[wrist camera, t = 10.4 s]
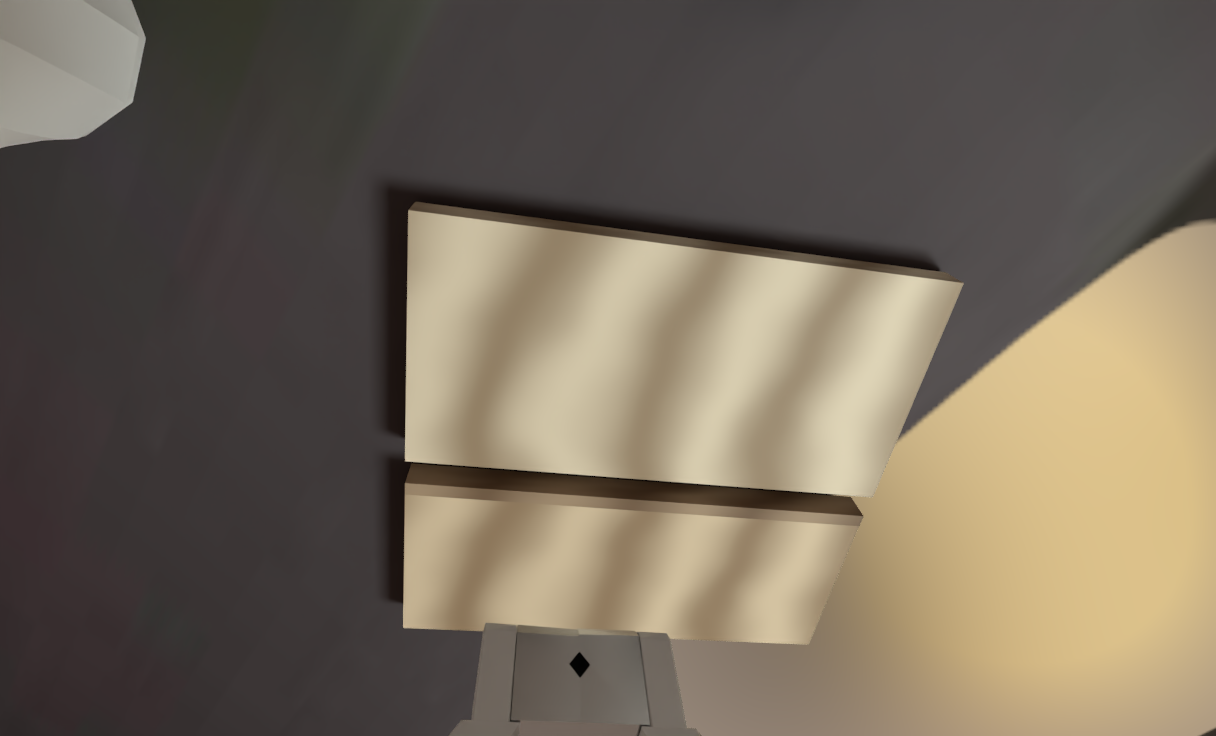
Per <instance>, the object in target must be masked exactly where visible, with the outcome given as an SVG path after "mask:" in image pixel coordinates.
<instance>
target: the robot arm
mask: <svg viewBox="0 0 1216 736" xmlns="http://www.w3.org/2000/svg"><path fill="white" fill-rule="evenodd" d="M449 736H701V734H700V733H699V732H698V731H697V730H696V729H694V728H687V727H686V721H685V716H684V711H683V706H682V700H681V694H680V689H679V684H678V679H677V673H676V667H675V662H674V657H673V651H672V645H671V640H670V638H669V636H668V634H667V633H654V632H635V631H627V630H603V629H579V628H577V629H564V628H552V627H540V626H528V625H517V626H516V625H513V624H499V623H485V627H484V630H483V636H482V644H481V651H480V659H479V666H478V673H477V681H476V688H475V696H474V703H473V710H472V718H471V720H461V721H460V722H459V724H458V725H457V726H456V727H455V729H454V730H453V731H452V732H451V733H450V735H449Z"/></svg>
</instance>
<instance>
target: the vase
mask: <svg viewBox="0 0 1216 736" xmlns="http://www.w3.org/2000/svg"><path fill="white" fill-rule="evenodd" d="M145 40H146V37H145V35H144V32H143V30H142V27H141V24H140V22H139V19H138V16H137V14H136V11H135V9H134V6H133V3H132V1H131V0H0V148H2V147H6V146H12V145H18V144H24V143H31V142H37V141H43V140H62V139H79V138H80V137H84V136H87V135H88V134H89V133H91V132H92V131H93V130H95V129H96V128H98V127H99V126H100V125H102V124H103V123H105V122H106V121H107V120H109V119H110V118H111V117H113V116H114V115H116V114H117V113H118V112H120V111H121V110H123V109H124V108H125V107H127V106H128V105H129V104H131V103H132V102H133V98H134V93H135V88H136V83H137V79H138V74H139V69H140V64H141V59H142V55H143V50H144V45H145Z"/></svg>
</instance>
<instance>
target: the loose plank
mask: <svg viewBox="0 0 1216 736" xmlns="http://www.w3.org/2000/svg"><path fill="white" fill-rule="evenodd" d="M963 284H964V283H963V282H961V281H959V280H958V279H956V278H954V277H952V276H951V275H949V274H947V273H945V272H939V271H932V270H924V269H917V268H909V267H902V266H894V265H887V264H879V263H872V262H864V261H857V260H849V259H842V258H834V257H827V256H819V255H812V254H804V253H797V252H789V251H782V250H774V249H767V248H759V247H752V246H744V245H737V244H729V243H722V242H714V241H707V240H699V239H692V238H685V237H677V236H670V235H662V234H655V233H647V232H640V231H632V230H625V229H617V228H610V227H602V226H595V225H587V224H580V223H572V222H565V221H557V220H550V219H542V218H535V217H527V216H520V215H512V214H505V213H497V212H490V211H482V210H475V209H467V208H460V207H452V206H445V205H437V204H430V203H422V202H415V203H414V204H413V205H412V206H411V207H410V209H409V210H408V265H407V341H406V417H405V461H407V462H420V463H433V464H446V465H459V466H472V467H485V468H498V469H511V470H524V471H537V472H550V473H563V474H576V475H589V476H602V477H615V478H628V479H641V480H654V481H667V482H680V483H693V484H706V485H719V486H732V487H745V488H758V489H771V490H784V491H797V492H810V493H823V494H836V495H850V496H863V497H873V495H874V493H875V490H876V488H877V486H878V484H879V481H880V479H881V476H882V474H883V472H884V469H885V467H886V464H887V462H888V460H889V458H890V455H891V453H892V451H893V448H894V446H895V444H896V441H897V439H898V436H899V434H900V432H901V429H902V427H903V425H904V422H905V420H906V418H907V415H908V413H909V411H910V408H911V406H912V404H913V401H914V399H915V397H916V394H917V392H918V389H919V387H920V385H921V382H922V380H923V378H924V375H925V373H926V371H927V368H928V366H929V364H930V361H931V359H932V357H933V354H934V352H935V349H936V347H937V345H938V342H939V340H940V338H941V335H942V333H943V331H944V328H945V326H946V324H947V321H948V319H949V317H950V314H951V312H952V310H953V307H954V305H955V302H956V300H957V298H958V295H959V293H960V291H961V288H962V286H963Z"/></svg>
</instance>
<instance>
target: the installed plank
mask: <svg viewBox="0 0 1216 736" xmlns="http://www.w3.org/2000/svg"><path fill="white" fill-rule="evenodd" d="M862 519H863V515H862V513H861V512H860V510H859V509H858V507H857V506H856V504H855V503H854V501H853V500H852V498H851V497H843V496H830V495H817V494H804V493H791V492H778V491H765V490H752V489H739V488H726V487H713V486H700V485H687V484H674V483H661V482H648V481H634V480H621V479H608V478H595V477H582V476H569V475H556V474H543V473H530V472H517V471H504V470H491V469H478V468H465V467H452V466H439V465H426V464H413V463H411V466H410V469H409V472H408V475H407V478H406V482H405V525H404V601H403V628H419V629H444V630H468V631H483V630H484V627H485V623H499V624H513V625H516V626H517V625H528V626H540V627H552V628H564V629H577V628H579V629H603V630H627V631H635V632H654V633H667V634H668V636H669V638H670V639H689V640H713V641H736V642H761V643H785V644H787V643H788V644H809V642H810V640H811V638H812V635H813V633H814V631H815V628H816V626H817V623H818V621H819V619H820V617H821V614H822V612H823V609H824V607H825V605H826V602H827V600H828V598H829V595H830V593H831V591H832V588H833V586H834V584H835V581H836V579H837V576H838V574H839V572H840V570H841V567H842V565H843V563H844V560H845V558H846V555H847V553H848V551H849V548H850V546H851V544H852V541H853V539H854V537H855V534H856V532H857V530H858V527H859V526H860V523H861V521H862Z"/></svg>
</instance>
